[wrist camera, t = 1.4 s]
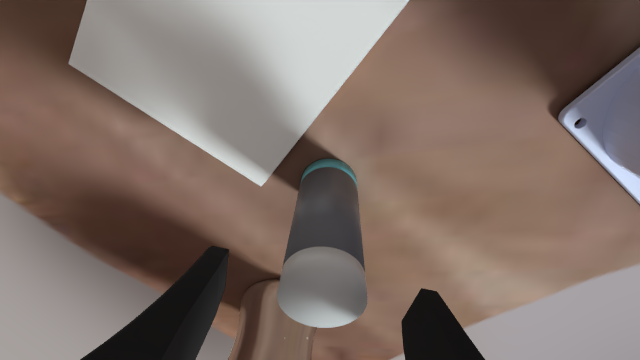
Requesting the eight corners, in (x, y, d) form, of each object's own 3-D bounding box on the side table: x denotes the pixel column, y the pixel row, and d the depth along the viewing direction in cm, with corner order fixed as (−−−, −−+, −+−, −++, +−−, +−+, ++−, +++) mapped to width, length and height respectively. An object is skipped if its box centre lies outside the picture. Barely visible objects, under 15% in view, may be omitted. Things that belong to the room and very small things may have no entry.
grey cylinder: (368, 179, 17) (386, 297, 11) (333, 214, 19) (329, 338, 12) (323, 147, 17) (312, 252, 10) (290, 186, 18) (259, 302, 11)
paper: (413, -7, 13) (414, -7, 12) (262, 184, 18) (261, 186, 18) (168, -251, 10) (163, -258, 9) (72, 62, 15) (68, 63, 15)
